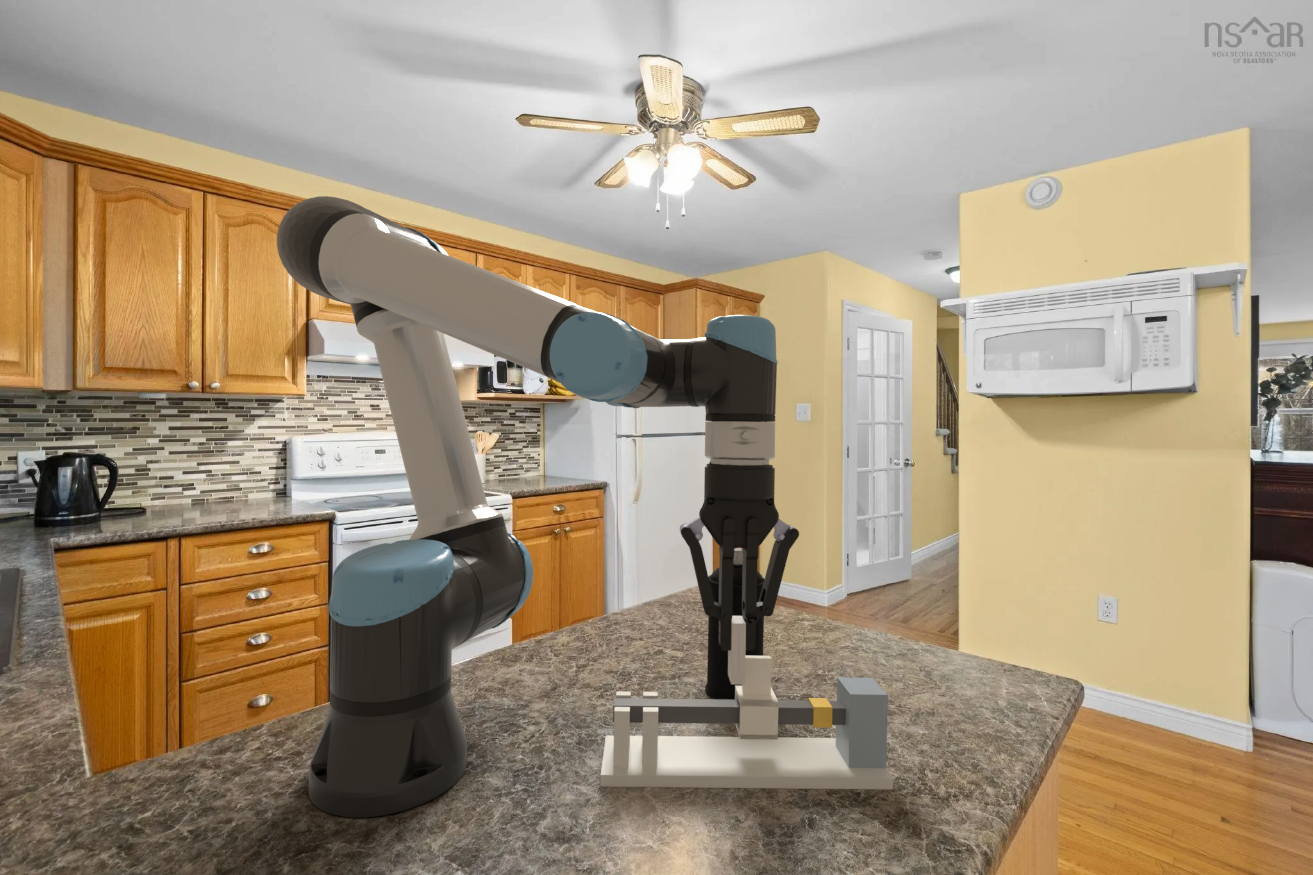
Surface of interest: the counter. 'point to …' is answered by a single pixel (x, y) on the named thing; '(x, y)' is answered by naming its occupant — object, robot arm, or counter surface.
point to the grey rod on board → (752, 744)
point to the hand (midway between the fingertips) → (736, 679)
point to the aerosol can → (717, 658)
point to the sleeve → (757, 701)
